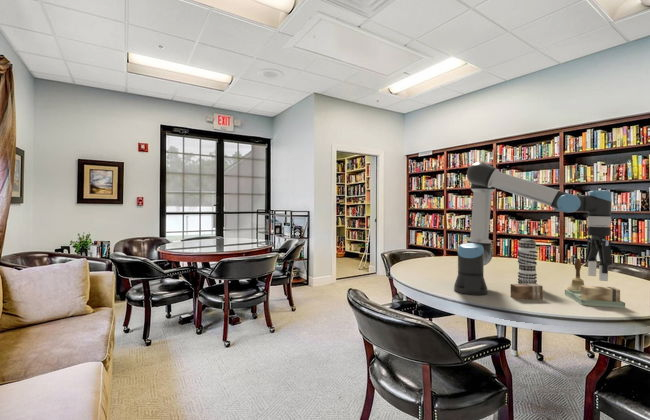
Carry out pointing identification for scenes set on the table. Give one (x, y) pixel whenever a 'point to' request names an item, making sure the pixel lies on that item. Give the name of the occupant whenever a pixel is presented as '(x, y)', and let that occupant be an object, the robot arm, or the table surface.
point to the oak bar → (600, 293)
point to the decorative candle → (527, 261)
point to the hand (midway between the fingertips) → (597, 278)
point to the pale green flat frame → (577, 297)
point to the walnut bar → (526, 291)
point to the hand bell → (577, 278)
